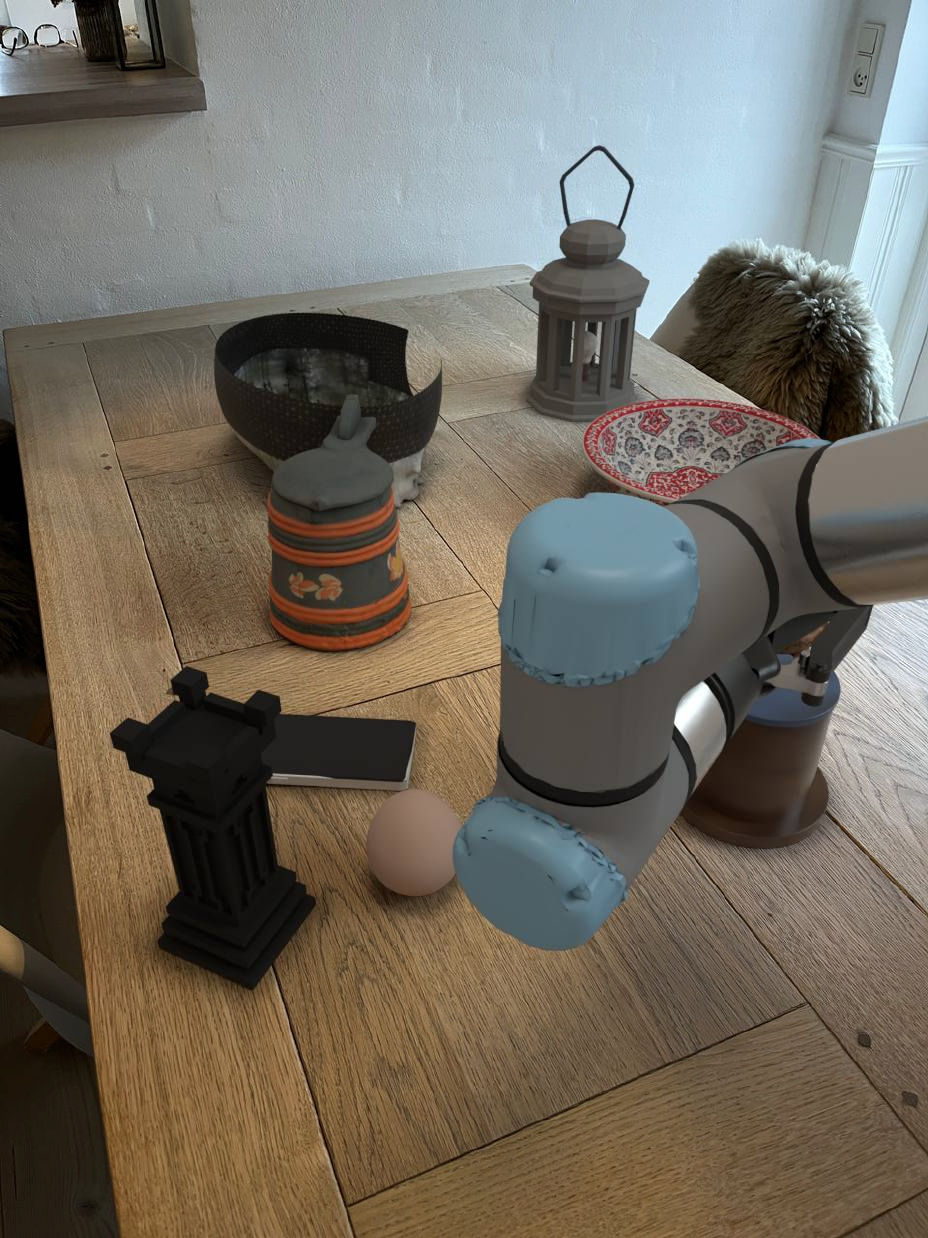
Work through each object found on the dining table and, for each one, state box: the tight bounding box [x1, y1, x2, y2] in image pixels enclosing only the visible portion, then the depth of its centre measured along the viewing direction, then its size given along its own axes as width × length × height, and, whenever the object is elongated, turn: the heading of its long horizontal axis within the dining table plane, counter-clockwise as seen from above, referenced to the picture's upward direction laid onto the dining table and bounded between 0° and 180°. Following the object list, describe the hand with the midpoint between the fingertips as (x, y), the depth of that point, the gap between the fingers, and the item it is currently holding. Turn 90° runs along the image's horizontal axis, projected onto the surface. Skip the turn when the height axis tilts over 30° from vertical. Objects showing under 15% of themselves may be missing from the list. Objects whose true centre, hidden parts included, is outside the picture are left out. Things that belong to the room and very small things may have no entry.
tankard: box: [267, 394, 412, 652], centre depth 101 cm, size 19×15×20 cm
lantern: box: [525, 144, 650, 423], centre depth 141 cm, size 17×17×35 cm
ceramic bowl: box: [581, 398, 822, 507], centre depth 121 cm, size 29×29×8 cm
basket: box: [213, 312, 443, 509], centre depth 129 cm, size 28×35×16 cm
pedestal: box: [679, 654, 842, 849], centre depth 80 cm, size 13×13×12 cm
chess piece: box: [109, 665, 317, 991], centre depth 67 cm, size 8×8×20 cm
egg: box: [365, 788, 462, 897], centre depth 73 cm, size 7×7×8 cm
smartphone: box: [261, 713, 417, 792], centre depth 87 cm, size 8×1×15 cm
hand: (805, 528), depth 69 cm, fingers closed on figurine, 6 cm apart
